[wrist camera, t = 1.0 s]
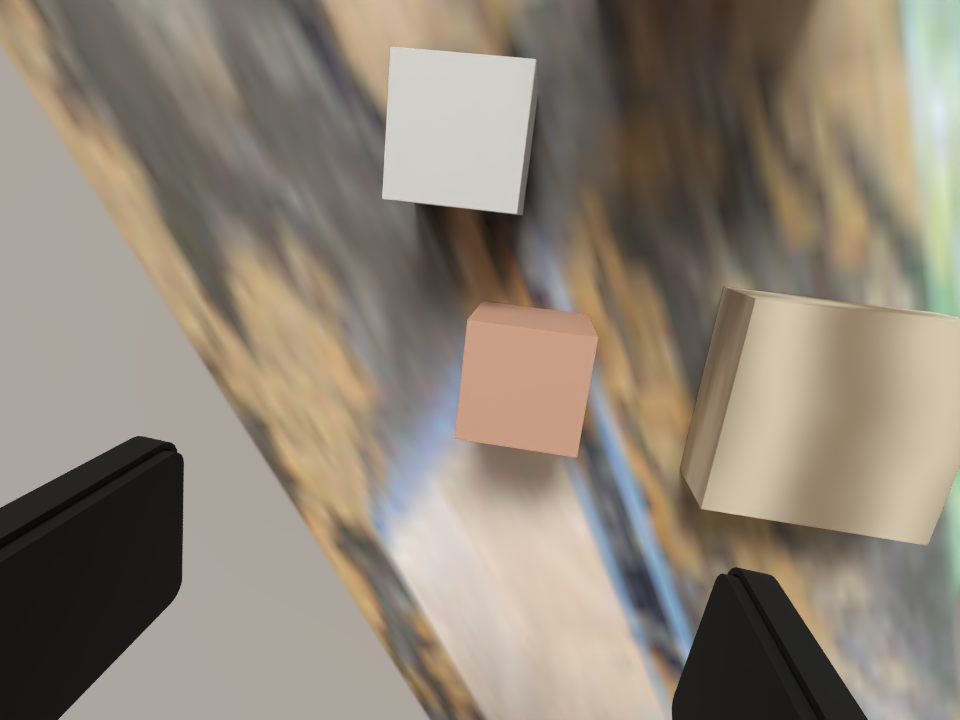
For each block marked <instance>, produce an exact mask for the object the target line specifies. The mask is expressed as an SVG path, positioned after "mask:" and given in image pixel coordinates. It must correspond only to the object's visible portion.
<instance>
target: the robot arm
mask: <svg viewBox="0 0 960 720" xmlns="http://www.w3.org/2000/svg"><path fill="white" fill-rule="evenodd" d="M183 471H184V462H183V457H182V455H181V454H179V453H177V449H176V447H175V445H174V444H172V443H170V442H165V441H161V440H156V439H152V438H147V437H142V436H137V437H134V438H132V439H129V440H128V441H126V442H124V443H122V444H120V445H118V446H116V447H114V448H113V449H111V450H109V451H107V452H105V453H103V454H101V455H99V456H97V457H96V458H94V459H92V460H90V461H88V462H86V463H84V464H82V465H80V466H78V467H77V468H75V469H73V470H71V471H69V472H67V473H65V474H64V475H61V476H60V477H58V478H56V479H54V480H52V481H50V482H48V483H46V484H45V485H43V486H41V487H39V488H37V489H35V490H33V491H31V492H29V493H28V494H26V495H24V496H22V497H20V498H18V499H16V500H15V501H13V502H11V503H9V504H7V505H5V506H3V507H1V508H0V720H58V719H59V718H60V717H61V716H62V715H63V714H64V713H65V712H66V711H67V710H68V709H69V708H70V707H71V706H72V705H73V704H74V702H75V701H76V700H77V699H78V698H79V697H80V696H81V695H82V694H83V693H84V692H85V691H86V690H87V689H88V688H89V687H90V686H91V685H92V684H93V683H94V682H95V681H96V680H97V679H98V678H99V677H100V676H101V675H102V673H103V672H104V671H106V670H107V668H108V667H109V666H110V665H111V664H112V663H113V662H114V661H115V660H116V659H117V658H118V657H119V656H120V655H121V654H122V653H123V652H124V651H125V650H126V649H127V648H128V647H129V646H130V645H131V644H132V643H133V642H134V641H135V640H136V638H138V636H140V634H141V633H142V632H143V631H144V630H145V629H146V628H147V627H148V626H149V625H150V624H151V623H152V622H153V621H154V620H155V619H156V618H157V617H158V616H159V615H160V614H161V613H162V612H163V611H164V610H165V609H166V608H167V607H168V606H169V605H170V604H171V602H172V601H173V600H174V598H175V597H176V595H177V593H178V591H179V589H180V586H181V582H182V544H183V542H182V541H183V475H184V473H183ZM672 720H868V719H867V718H866V716H865V715H864V713H863V711H862V710H861V708H860V707H859V705H858V704H857V702H856V701H855V699H854V698H853V696H852V695H851V693H850V692H849V690H848V688H847V687H846V685H845V684H844V682H843V681H842V679H841V678H840V676H839V675H838V673H837V672H836V670H835V669H834V667H833V666H832V664H831V662H830V661H829V659H828V658H827V656H826V655H825V653H824V652H823V650H822V649H821V647H820V646H819V644H818V643H817V641H816V640H815V638H814V636H813V635H812V633H811V632H810V630H809V629H808V627H807V626H806V624H805V623H804V621H803V620H802V618H801V617H800V615H799V614H798V612H797V610H796V609H795V607H794V606H793V604H792V603H791V601H790V600H789V598H788V597H787V595H786V594H785V592H784V591H783V589H782V588H781V586H780V584H779V583H778V581H777V580H776V579H775V578H774V577H773V576H771V575H769V574H764V573H759V572H755V571H750V570H746V569H741V568H737V567H735V568H732V569H731V570H730V571H729V572H728V574H727V575H726V574H720V575H719V576H718V577H717V579H716V581H715V583H714V586H713V589H712V592H711V595H710V597H709V600H708V603H707V606H706V608H705V611H704V614H703V617H702V620H701V622H700V625H699V628H698V631H697V633H696V636H695V639H694V642H693V645H692V647H691V650H690V653H689V656H688V658H687V661H686V664H685V667H684V669H683V672H682V675H681V678H680V681H679V683H678V686H677V689H676V692H675V694H674V698H673V703H672Z"/></svg>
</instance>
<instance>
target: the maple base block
mask: <svg viewBox="0 0 960 720" xmlns="http://www.w3.org/2000/svg"><path fill="white" fill-rule="evenodd" d="M959 467H960V318H959V317H955V316H950V315H946V314H942V313H934V312H926V311H918V310H910V309H902V308H894V307H886V306H877V305H869V304H861V303H853V302H845V301H837V300H829V299H821V298H812V297H804V296H796V295H788V294H780V293H772V292H764V291H756V290H747V289H739V288H731V287H724V289H723V293H722V297H721V301H720V305H719V309H718V314H717V318H716V322H715V326H714V330H713V334H712V338H711V343H710V347H709V351H708V355H707V359H706V363H705V367H704V372H703V376H702V380H701V384H700V388H699V392H698V396H697V401H696V405H695V409H694V413H693V417H692V421H691V425H690V430H689V434H688V438H687V442H686V446H685V450H684V454H683V459H682V463H681V467H680V471H681V473H682V474H683V476H684V478H685V480H686V482H687V484H688V486H689V487H690V489H691V491H692V493H693V495H694V497H695V499H696V500H697V502H698V504H699V506H700V508H701V509H704V510H710V511H717V512H723V513H729V514H735V515H742V516H748V517H754V518H760V519H766V520H773V521H779V522H785V523H791V524H797V525H804V526H810V527H816V528H822V529H829V530H835V531H841V532H847V533H853V534H860V535H866V536H872V537H878V538H884V539H891V540H897V541H903V542H909V543H916V544H922V545H928V543H929V541H930V538H931V536H932V533H933V531H934V528H935V526H936V523H937V521H938V519H939V516H940V514H941V511H942V509H943V506H944V504H945V501H946V499H947V496H948V494H949V491H950V489H951V487H952V484H953V482H954V479H955V477H956V474H957V472H958V469H959Z"/></svg>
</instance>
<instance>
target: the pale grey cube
mask: <svg viewBox="0 0 960 720" xmlns="http://www.w3.org/2000/svg"><path fill="white" fill-rule="evenodd" d="M537 99H538V83H537V65H536V59H528V58H516V57H505V56H493V55H482V54H470V53H459V52H447V51H436V50H425V49H413V48H402V47H391V50H390V68H389V86H388V104H387V122H386V140H385V158H384V176H383V194H382V199H389V200H396V201H403V202H411V203H419V204H427V205H436V206H445V207H454V208H462V209H471V210H480V211H489V212H497V213H506V214H515V215H523V208H524V201H525V193H526V185H527V177H528V169H529V162H530V154H531V146H532V138H533V130H534V123H535V115H536V107H537Z"/></svg>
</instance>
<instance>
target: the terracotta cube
mask: <svg viewBox="0 0 960 720" xmlns="http://www.w3.org/2000/svg"><path fill="white" fill-rule="evenodd" d="M597 342H598V336H597V333H596V331H595V329H594V327H593V324H592V322H591V320H590V318H589V315H588V314H580V313H572V312H565V311H557V310H549V309H541V308H534V307H526V306H518V305H511V304H503V303H495V302H488V301H482V302H481V304H480V305H479V306H478V307H477V309H476V310H475V311H474V312H473V314H472V315H471V316H470V317H469V319H468V320H467V328H466V338H465V347H464V357H463V366H462V376H461V385H460V395H459V404H458V414H457V423H456V433H455V439H459V440H466V441H472V442H479V443H485V444H492V445H498V446H504V447H511V448H517V449H524V450H530V451H537V452H543V453H549V454H556V455H562V456H569V457H575V458H577V454H578V449H579V443H580V437H581V432H582V426H583V420H584V415H585V409H586V404H587V398H588V392H589V387H590V381H591V376H592V370H593V364H594V359H595V353H596V347H597Z"/></svg>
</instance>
